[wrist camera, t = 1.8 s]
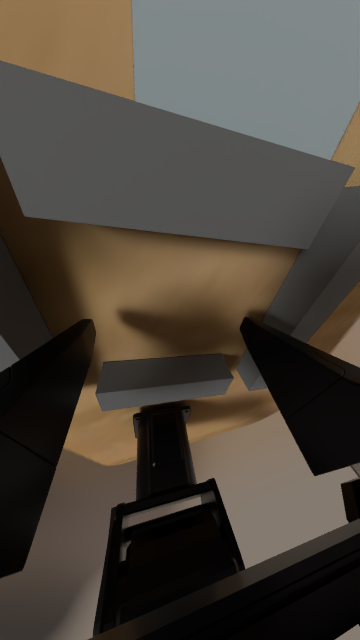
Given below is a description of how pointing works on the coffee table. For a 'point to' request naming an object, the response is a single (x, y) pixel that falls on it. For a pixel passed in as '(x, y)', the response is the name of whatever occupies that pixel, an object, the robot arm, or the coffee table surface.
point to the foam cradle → (170, 214)
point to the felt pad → (253, 66)
